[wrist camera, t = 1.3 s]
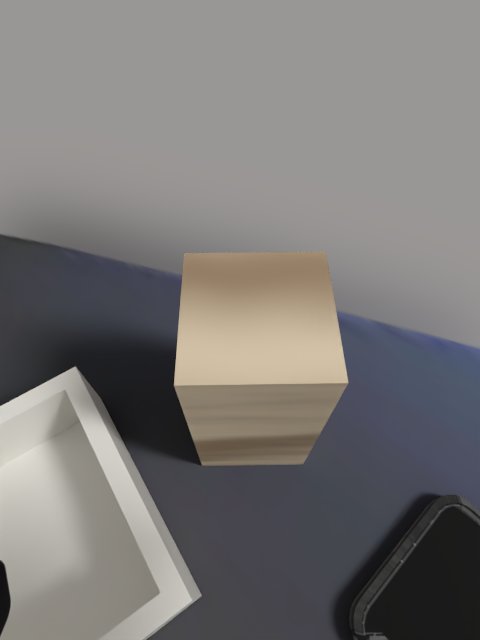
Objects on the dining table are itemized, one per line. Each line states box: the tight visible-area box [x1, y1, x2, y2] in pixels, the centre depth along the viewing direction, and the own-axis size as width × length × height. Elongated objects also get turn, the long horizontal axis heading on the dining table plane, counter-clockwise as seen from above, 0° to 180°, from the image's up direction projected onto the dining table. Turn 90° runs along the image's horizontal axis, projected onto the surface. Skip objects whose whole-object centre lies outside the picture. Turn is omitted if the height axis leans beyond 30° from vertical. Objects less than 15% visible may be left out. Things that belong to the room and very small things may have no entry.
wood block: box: [174, 252, 348, 466], centre depth 17 cm, size 5×5×10 cm
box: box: [0, 366, 202, 640], centre depth 16 cm, size 11×11×4 cm
